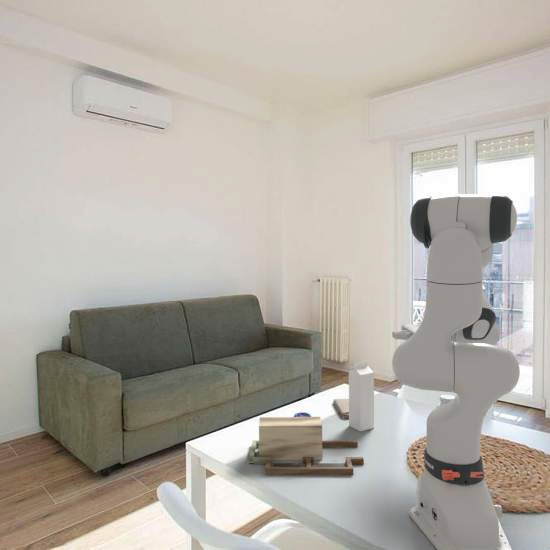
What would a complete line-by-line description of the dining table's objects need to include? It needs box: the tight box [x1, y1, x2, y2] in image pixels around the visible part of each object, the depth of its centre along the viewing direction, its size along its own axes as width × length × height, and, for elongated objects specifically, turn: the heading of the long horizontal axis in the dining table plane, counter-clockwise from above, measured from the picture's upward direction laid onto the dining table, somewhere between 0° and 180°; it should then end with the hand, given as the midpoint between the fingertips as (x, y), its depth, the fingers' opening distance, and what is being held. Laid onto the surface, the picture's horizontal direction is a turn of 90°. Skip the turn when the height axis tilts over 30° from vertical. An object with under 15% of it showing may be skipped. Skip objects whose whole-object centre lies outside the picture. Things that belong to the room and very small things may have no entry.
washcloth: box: [332, 398, 349, 420], centre depth 170 cm, size 12×18×3 cm, turn 5°
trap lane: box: [248, 440, 365, 476], centre depth 130 cm, size 18×32×2 cm, turn 88°
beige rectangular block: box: [258, 416, 323, 461], centre depth 133 cm, size 7×18×10 cm, turn 90°
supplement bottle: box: [436, 394, 456, 408], centre depth 144 cm, size 7×7×13 cm
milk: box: [348, 361, 375, 432], centre depth 153 cm, size 6×6×22 cm
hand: (393, 335), depth 136 cm, fingers closed
